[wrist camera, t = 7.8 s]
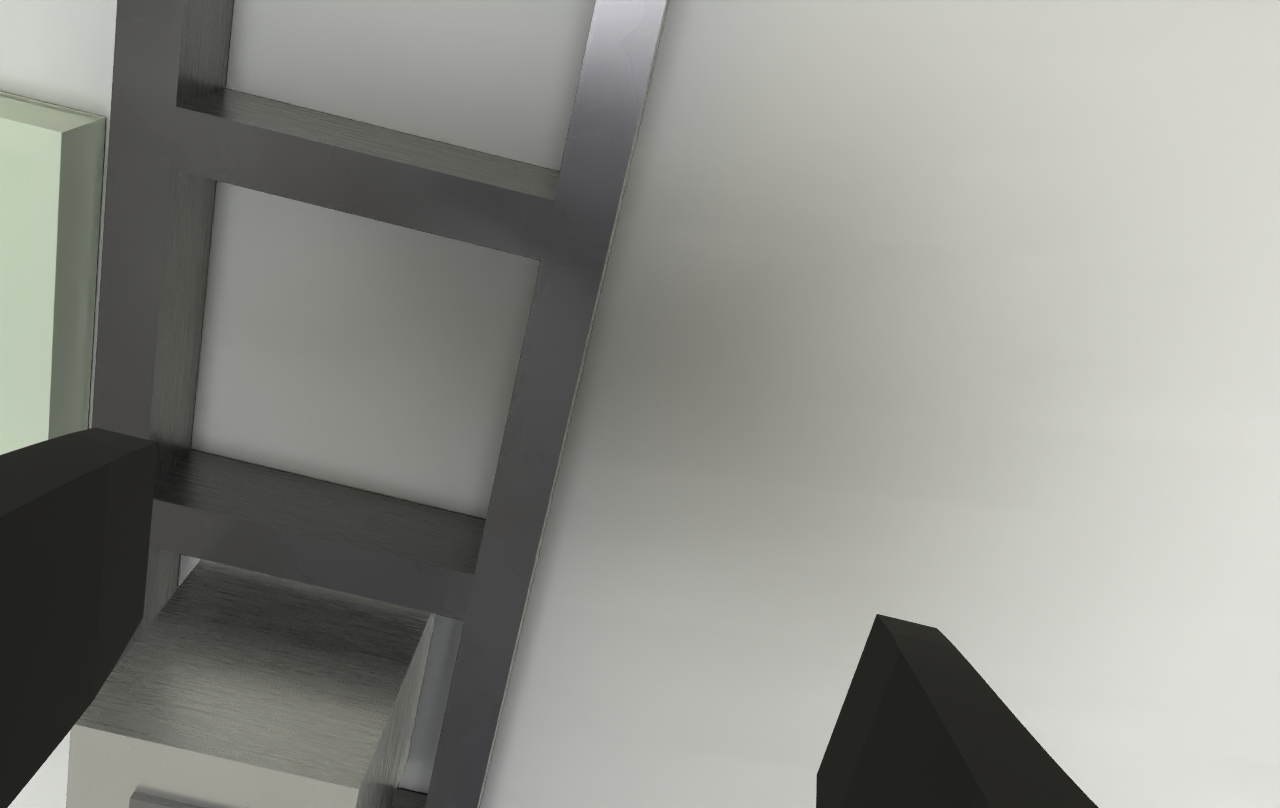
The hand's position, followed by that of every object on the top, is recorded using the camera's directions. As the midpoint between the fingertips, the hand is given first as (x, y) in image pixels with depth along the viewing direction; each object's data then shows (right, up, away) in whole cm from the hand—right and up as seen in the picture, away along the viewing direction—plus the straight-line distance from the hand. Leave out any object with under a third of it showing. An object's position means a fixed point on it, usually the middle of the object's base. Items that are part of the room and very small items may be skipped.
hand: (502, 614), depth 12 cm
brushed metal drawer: (-5, -3, +13) cm, 14 cm away
